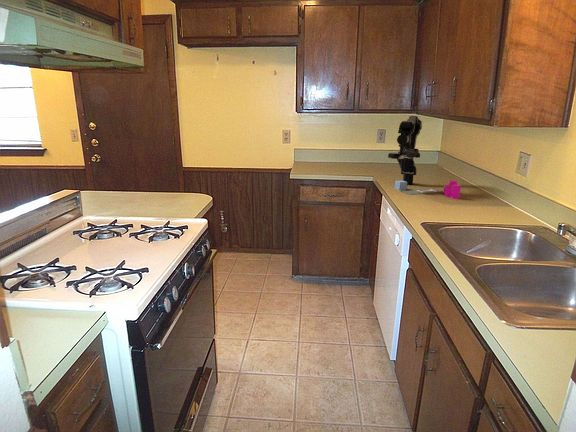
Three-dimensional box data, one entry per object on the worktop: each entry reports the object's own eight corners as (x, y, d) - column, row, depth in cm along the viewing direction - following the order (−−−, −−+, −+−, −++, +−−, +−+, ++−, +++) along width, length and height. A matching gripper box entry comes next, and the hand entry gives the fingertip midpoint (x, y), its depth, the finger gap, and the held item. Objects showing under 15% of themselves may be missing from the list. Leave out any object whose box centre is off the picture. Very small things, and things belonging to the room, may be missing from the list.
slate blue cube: (394, 188, 238) (395, 180, 237) (401, 188, 240) (402, 180, 239) (399, 190, 234) (400, 182, 232) (406, 190, 235) (407, 181, 234)
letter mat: (400, 191, 232) (400, 190, 232) (432, 188, 239) (432, 188, 239) (409, 194, 224) (409, 194, 224) (442, 192, 231) (442, 191, 231)
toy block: (443, 192, 230) (445, 180, 228) (454, 193, 229) (456, 180, 227) (446, 198, 216) (448, 185, 214) (458, 199, 215) (460, 185, 213)
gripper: (399, 145, 219) (397, 172, 223) (427, 144, 225) (424, 171, 229) (388, 143, 229) (386, 169, 233) (415, 142, 235) (412, 168, 239)
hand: (402, 169), depth 233 cm, fingers closed
